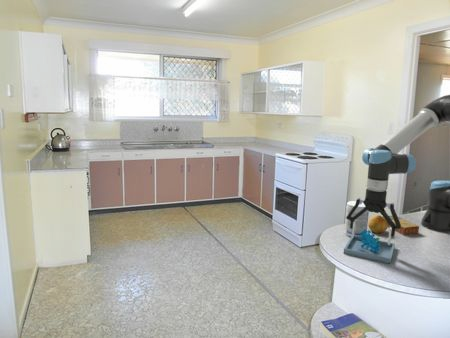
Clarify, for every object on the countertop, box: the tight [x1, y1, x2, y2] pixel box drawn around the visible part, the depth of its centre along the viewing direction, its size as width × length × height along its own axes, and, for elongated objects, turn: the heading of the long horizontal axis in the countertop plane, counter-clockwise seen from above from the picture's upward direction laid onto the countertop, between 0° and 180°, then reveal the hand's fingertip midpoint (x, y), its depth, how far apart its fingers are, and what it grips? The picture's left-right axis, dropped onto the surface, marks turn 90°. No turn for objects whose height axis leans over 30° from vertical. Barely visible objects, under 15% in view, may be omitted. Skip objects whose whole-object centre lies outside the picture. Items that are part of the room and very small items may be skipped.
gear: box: [360, 229, 380, 253], centre depth 145 cm, size 11×6×10 cm
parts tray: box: [343, 236, 396, 265], centre depth 145 cm, size 17×17×2 cm
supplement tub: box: [344, 200, 370, 238], centre depth 160 cm, size 10×10×15 cm
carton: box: [382, 215, 420, 236], centre depth 171 cm, size 8×16×4 cm, turn 15°
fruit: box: [367, 215, 388, 234], centre depth 166 cm, size 8×8×8 cm
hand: (370, 240), depth 144 cm, fingers open, 13 cm apart
